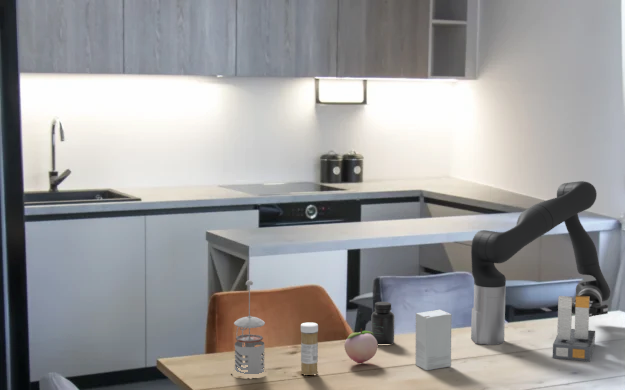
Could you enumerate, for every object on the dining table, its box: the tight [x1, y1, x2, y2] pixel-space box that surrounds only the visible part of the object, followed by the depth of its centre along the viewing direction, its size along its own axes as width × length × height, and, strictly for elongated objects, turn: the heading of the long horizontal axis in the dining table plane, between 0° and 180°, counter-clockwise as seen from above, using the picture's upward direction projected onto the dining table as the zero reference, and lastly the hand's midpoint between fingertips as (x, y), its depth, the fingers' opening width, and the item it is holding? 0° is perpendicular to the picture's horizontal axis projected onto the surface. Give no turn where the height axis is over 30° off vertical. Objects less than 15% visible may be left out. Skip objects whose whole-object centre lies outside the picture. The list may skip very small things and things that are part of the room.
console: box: [552, 328, 596, 363], centre depth 267 cm, size 20×10×4 cm, turn 159°
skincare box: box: [415, 309, 453, 371], centre depth 250 cm, size 8×6×15 cm
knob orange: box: [574, 295, 590, 339], centre depth 263 cm, size 2×4×12 cm, turn 69°
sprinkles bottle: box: [300, 321, 319, 376], centre depth 243 cm, size 5×5×14 cm
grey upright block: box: [556, 295, 573, 340], centre depth 262 cm, size 2×4×12 cm, turn 69°
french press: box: [233, 279, 266, 374], centre depth 243 cm, size 10×12×25 cm
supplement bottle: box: [370, 301, 395, 345], centre depth 274 cm, size 7×7×12 cm
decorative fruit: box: [344, 328, 379, 364], centre depth 252 cm, size 9×8×10 cm
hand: (583, 314), depth 268 cm, fingers closed
